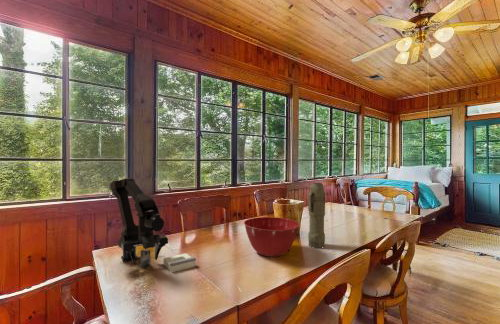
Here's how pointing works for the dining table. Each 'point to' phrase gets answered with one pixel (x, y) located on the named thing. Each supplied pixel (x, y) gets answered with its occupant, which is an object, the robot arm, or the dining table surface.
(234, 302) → the dining table surface
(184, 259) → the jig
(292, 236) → the mixing bowl
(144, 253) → the metal cylinder rod
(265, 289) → the dining table surface
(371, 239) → the dining table surface
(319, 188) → the thermos
